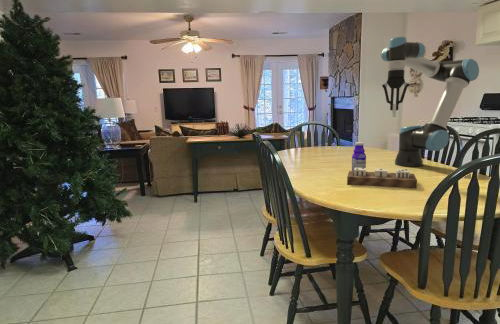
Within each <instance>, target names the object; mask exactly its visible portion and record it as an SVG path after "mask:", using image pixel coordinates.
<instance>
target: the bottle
mask: <svg viewBox="0 0 500 324" xmlns="http://www.w3.org/2000/svg"><path fill="white" fill-rule="evenodd" d="M365 152H366V150H365V149H364V142H362V141H358V142H357V141H356V142H355V143H354V149H353V153H352V155H351V171H354V168H366V169H367V156H366V153H365Z"/></svg>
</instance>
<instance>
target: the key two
mask: <svg viewBox="0 0 500 324" xmlns="http://www.w3.org/2000/svg"><path fill="white" fill-rule="evenodd" d="M366 172H367V167H366V168H354V175H355V176H366Z"/></svg>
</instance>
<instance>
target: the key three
mask: <svg viewBox="0 0 500 324" xmlns="http://www.w3.org/2000/svg"><path fill="white" fill-rule="evenodd" d="M395 173H396V178H409V175H410V174H411V172H410V170H409V169H406V168H405V169H398V168H396V169H395Z"/></svg>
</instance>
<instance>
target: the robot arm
mask: <svg viewBox="0 0 500 324" xmlns="http://www.w3.org/2000/svg"><path fill="white" fill-rule="evenodd" d="M425 50H426V47H425V45H424V44H423V42H417V41H416V42H413V41H409V42H408V41H407V37H405V36H395V37H392V38H391V39H389V45H388V47H385V48H383V50H382V51H381V54H380V56H381V59H382V60H383V62H388V65H387V66H388V68H387V69H388V72H387V80H386V82H385V83H383V84H382V85H381V87H382V88H383V92H384V96H385V100H386V103H387V104H389V105H390V106H389V110H390V111H392V112H391V113H392V114H391V118H396V117H397V116H396V113H397V111H399V105H400V104H401V103H403V102H404V99H405V95H406V93H407V90H408V88H409V86H410V83H408V82H407V81H405V67H407V68H409V69H411V70H414V71H417V72H420V73H422V74H424V75H425V76H426V77H427V78H429V79H432V80H435V81H440V82H441V83H442V82H443V83H445V84H446V85H445V88H444V89H443V92H442V93H441V96H440V98H439V100H438V103H437V104H436V106H435V109H434V111H433V113H432V116H431V117H430V120H429V121H428V122H426V123H424V126H422V125H410V126H402V127H400V129H399V135H398V137H399V139H398V141H399V142H398V152H397V155H396V157H395V159H394V164H395V165H396V166H401V167H413V168H414V167H415V168H416V167H422V166H423V162H424V161H423V158H422V157H423V156H422V154H421V150H426V151H429V152H431V151H434V152H438V151H441V150H443V149H444V148H446V146H447V145H448V143H449V141H450V140H449V139H450V138H449V137H450V135H449V133H448V128H447V125H448V124H449V121H450V119H451V116H452V114H453V113H454V110H455V108H456V107H457V106H456V105H457V104H458V101H459V99H460V97H461V94H462V92H463V90H464V89H465V88H467V87H469V85H470V82H473V81H476V80H477V79H478V77H479V75H480V74H479V73H480V68H479V64H478V62H477V61H476V60H475V59H473V58H464V59H458V60H449V61H448V60H447V61H438V60H431V59H428V58H426V57H423V56H424V54H425ZM402 86H403V90H402V94H401V96H400V89H401V88H402ZM388 87H389V88H390V98H389V94H388V93H389V92H388V89H387V88H388ZM395 91H396V93H395ZM394 95H395V103H394Z"/></svg>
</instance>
